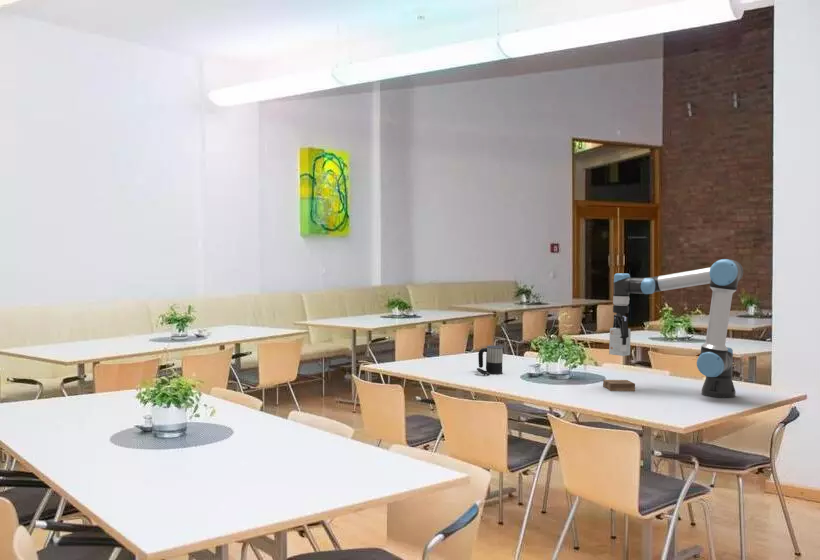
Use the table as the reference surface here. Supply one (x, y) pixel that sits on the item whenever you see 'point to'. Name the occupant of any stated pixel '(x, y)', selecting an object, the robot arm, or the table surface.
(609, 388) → the walnut block
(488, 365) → the milk frother
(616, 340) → the small box
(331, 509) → the table surface
